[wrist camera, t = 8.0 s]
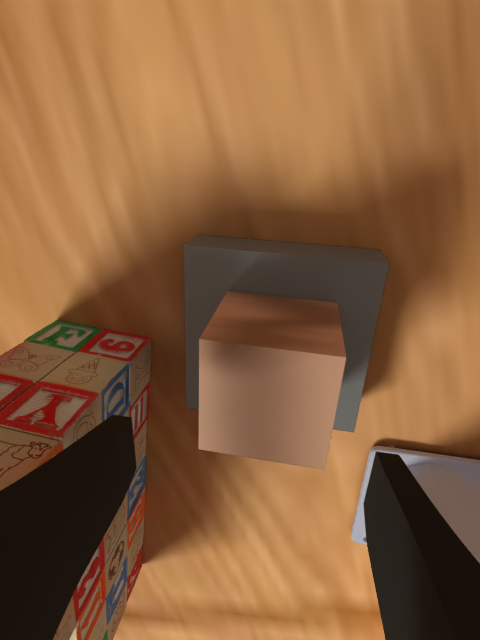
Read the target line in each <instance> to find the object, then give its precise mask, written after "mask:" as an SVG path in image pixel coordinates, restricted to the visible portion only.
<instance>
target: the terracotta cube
mask: <svg viewBox="0 0 480 640" xmlns="http://www.w3.org/2000/svg"><path fill="white" fill-rule="evenodd" d="M345 362H346V352H345V346H344V340H343V334H342V328H341V321H340V315H339V309H338V303H337V302H329V301H320V300H310V299H301V298H292V297H283V296H273V295H264V294H255V293H245V292H236V291H227V293H226V295H225V296H224V298H223V300H222V301H221V303H220V305H219V306H218V308H217V310H216V311H215V313H214V315H213V317H212V318H211V320H210V322H209V323H208V325H207V327H206V328H205V330H204V332H203V333H202V335H201V337H200V338H199V449H200V450H206V451H212V452H218V453H224V454H230V455H236V456H242V457H248V458H254V459H260V460H266V461H272V462H278V463H284V464H290V465H296V466H302V467H308V468H314V469H320V470H325V466H326V461H327V456H328V451H329V445H330V440H331V435H332V430H333V425H334V419H335V414H336V409H337V404H338V399H339V393H340V388H341V383H342V378H343V372H344V367H345Z"/></svg>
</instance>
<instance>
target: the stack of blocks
mask: <svg viewBox="0 0 480 640" xmlns="http://www.w3.org/2000/svg"><path fill="white" fill-rule="evenodd" d="M150 366H151V339H150V338H147V337H142V336H137V335H131V334H126V333H121V332H116V331H111V330H106V329H103V330H102V329H97V328H92V327H87V326H82V325H77V324H72V323H67V322H63V321H58V320H56V321H55V322H53V323H51V324H50V325H48V326H46V327H45V328H43V329H41V330H40V331H38V332H36V333H35V334H33V335H32V336H30V337H28V338H27V339H25V340H24V342H23V343H21V344H19V345H17V346H16V347H14V348H12V349H11V350H9V351H7V352H6V353H4V354H3V355H1V356H0V491H1V490H2V489H4V488H6V487H7V486H9V485H11V484H12V483H14V482H16V481H17V480H19V479H20V478H22V477H23V476H25V475H27V474H28V473H30V472H31V471H33V470H34V469H36V468H37V467H39V466H40V465H42V464H43V463H45V462H47V461H48V460H50V459H51V458H53V457H54V456H56V455H57V454H58V453H60V452H61V451H63V450H64V449H65V448H67V447H68V446H70V445H71V444H73V443H74V442H75V441H77V440H78V439H80V438H81V437H82V436H84V435H85V434H86V433H88V432H89V431H91V430H92V429H93V428H95V427H96V426H97V425H99V424H100V423H102V422H103V421H104V420H106V419H107V418H109V417H110V416H112V415H119V416H126V417H132V426H133V436H134V446H135V456H136V466H137V468H136V471H135V474H134V476H133V479H132V481H131V484H130V486H129V489H128V491H127V494H126V496H125V498H124V501H123V502H122V504H121V506H120V508H119V510H118V512H117V514H116V516H115V517H114V519H113V521H112V523H111V525H110V527H109V528H108V530H107V532H106V534H105V536H104V537H103V539H102V541H101V543H100V545H99V546H98V548H97V550H96V552H95V554H94V555H93V557H92V559H91V561H90V563H89V565H88V566H87V568H86V570H85V572H84V574H83V575H82V577H81V579H80V581H79V583H78V585H77V587H76V589H75V591H74V593H73V596H72V598H71V600H70V602H69V605H68V607H67V609H66V611H65V614H64V616H63V618H62V620H61V623H60V625H59V627H58V629H57V632H56V634H55V636H54V639H53V640H113V637H114V635H115V633H116V630H117V628H118V625H119V623H120V620H121V618H122V615H123V613H124V610H125V608H126V603H127V601H128V598H129V596H130V594H131V591H132V589H133V587H134V585H135V582H136V580H137V577H138V574H139V572H140V569H141V567H142V543H143V539H144V512H145V491H146V488H145V486H144V485H145V463H146V455H145V452H146V428H147V419H148V404H149V379H150Z"/></svg>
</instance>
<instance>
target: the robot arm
mask: <svg viewBox="0 0 480 640" xmlns="http://www.w3.org/2000/svg"><path fill="white" fill-rule="evenodd" d="M136 468H137V466H136V456H135V446H134V436H133V426H132V417H126V416H119V415H112V416H110V417H109V418H107V419H106V420H104V421H103V422H102V423H100V424H99V425H97V426H96V427H95V428H93V429H92V430H91V431H89V432H88V433H86V434H85V435H84V436H82V437H81V438H80V439H78V440H77V441H75V442H74V443H73V444H71V445H70V446H68V447H67V448H65V449H64V450H63V451H61V452H60V453H58V454H57V455H56V456H54V457H53V458H51V459H50V460H48V461H47V462H45V463H43V464H42V465H40V466H39V467H37V468H36V469H34V470H33V471H31V472H30V473H28V474H27V475H25V476H23V477H22V478H20V479H19V480H17V481H16V482H14V483H12V484H11V485H9V486H7V487H6V488H4V489H2V490H1V491H0V640H53V639H54V636H55V634H56V632H57V629H58V627H59V625H60V623H61V620H62V618H63V616H64V614H65V611H66V609H67V607H68V605H69V602H70V600H71V598H72V596H73V593H74V591H75V589H76V587H77V585H78V583H79V581H80V579H81V577H82V575H83V574H84V572H85V570H86V568H87V566H88V565H89V563H90V561H91V559H92V557H93V555H94V554H95V552H96V550H97V548H98V546H99V545H100V543H101V541H102V539H103V537H104V536H105V534H106V532H107V530H108V528H109V527H110V525H111V523H112V521H113V519H114V517H115V516H116V514H117V512H118V510H119V508H120V506H121V504H122V502H123V501H124V498H125V496H126V494H127V491H128V489H129V486H130V484H131V481H132V479H133V476H134V474H135V471H136ZM351 537H352V540H353V541H355V542H357V543H361V544H367V547H368V552H369V557H370V562H371V568H372V573H373V578H374V583H375V588H376V593H377V598H378V603H379V608H380V613H381V618H382V623H383V628H384V633H385V639H386V640H480V460H476V459H469V458H462V457H455V456H448V455H441V454H434V453H427V452H420V451H413V450H406V449H398V448H391V447H384V446H374V447H372V448H371V449H370V451H369V455H368V460H367V464H366V468H365V473H364V477H363V482H362V486H361V491H360V495H359V499H358V504H357V508H356V513H355V517H354V522H353V526H352V530H351Z"/></svg>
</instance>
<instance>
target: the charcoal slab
mask: <svg viewBox="0 0 480 640" xmlns="http://www.w3.org/2000/svg"><path fill="white" fill-rule="evenodd" d="M389 264H390V263H389V261H388V260H387V259H386V257H385V256H384V255H383V253H382V252H381V250H378V249H366V248H354V247H342V246H330V245H317V244H305V243H293V242H281V241H269V240H256V239H244V238H232V237H220V236H207V235H197V236H196V237H195V238H193V239H192V240H190V241H189V242H188V243H186V244H185V245H184V302H185V374H186V408H190V409H197V410H199V338H200V337H201V335H202V333H203V332H204V330H205V328H206V327H207V325H208V323H209V322H210V320H211V318H212V317H213V315H214V313H215V311H216V310H217V308H218V306H219V305H220V303H221V301H222V300H223V298H224V296H225V295H226V293H227V291H236V292H245V293H255V294H264V295H273V296H283V297H292V298H301V299H310V300H320V301H329V302H337V303H338V309H339V315H340V321H341V328H342V334H343V340H344V346H345V352H346V362H345V367H344V372H343V378H342V383H341V388H340V393H339V399H338V404H337V409H336V414H335V419H334V425H333V429H334V430H341V431H348V432H354V430H355V425H356V420H357V416H358V411H359V406H360V401H361V397H362V392H363V387H364V382H365V378H366V373H367V368H368V363H369V359H370V354H371V349H372V344H373V340H374V335H375V330H376V325H377V321H378V316H379V311H380V306H381V302H382V297H383V292H384V288H385V283H386V278H387V273H388V269H389Z"/></svg>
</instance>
